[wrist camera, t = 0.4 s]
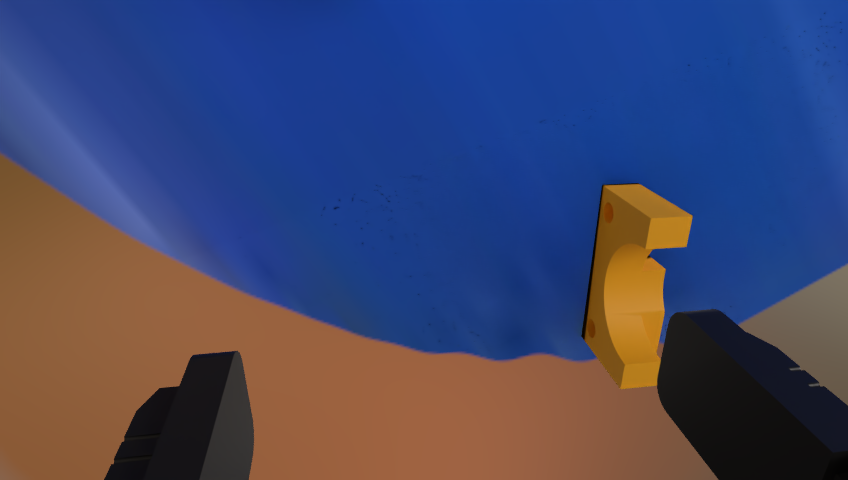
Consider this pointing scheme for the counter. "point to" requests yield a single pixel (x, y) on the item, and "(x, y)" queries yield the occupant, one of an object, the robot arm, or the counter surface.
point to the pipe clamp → (630, 281)
